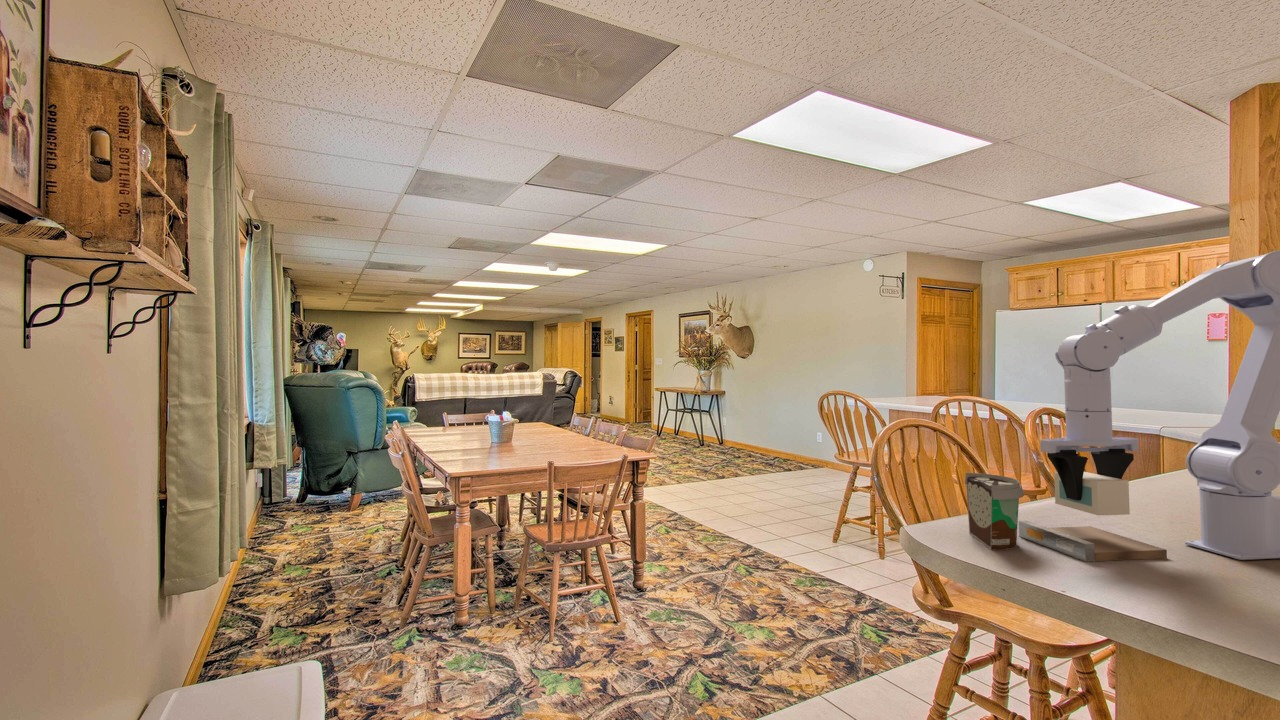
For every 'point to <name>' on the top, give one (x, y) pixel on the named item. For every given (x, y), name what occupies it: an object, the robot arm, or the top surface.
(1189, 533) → the top surface
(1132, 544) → the shelf board
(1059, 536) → the price rail
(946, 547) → the top surface
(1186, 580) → the top surface
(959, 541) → the top surface
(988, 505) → the food container
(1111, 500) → the carton
